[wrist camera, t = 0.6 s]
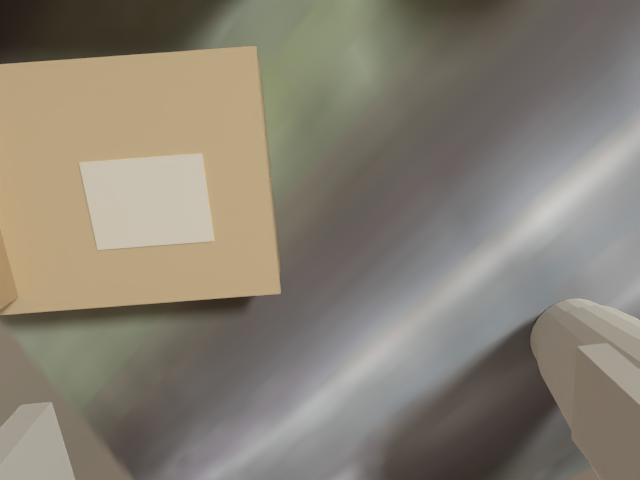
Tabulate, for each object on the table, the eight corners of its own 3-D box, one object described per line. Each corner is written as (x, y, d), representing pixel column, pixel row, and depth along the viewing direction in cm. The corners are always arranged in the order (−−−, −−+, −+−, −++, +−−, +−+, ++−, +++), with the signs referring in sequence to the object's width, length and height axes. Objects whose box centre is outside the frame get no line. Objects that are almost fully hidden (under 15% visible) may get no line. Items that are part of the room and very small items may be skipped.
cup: (651, 268, 40) (866, 377, 25) (626, 394, 43) (802, 558, 28) (508, 271, 40) (636, 384, 24) (494, 397, 43) (599, 565, 28)
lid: (-71, 70, 30) (-108, 67, 28) (256, 46, 31) (251, 42, 28) (-1, 312, 35) (-27, 331, 33) (280, 290, 35) (278, 307, 33)
